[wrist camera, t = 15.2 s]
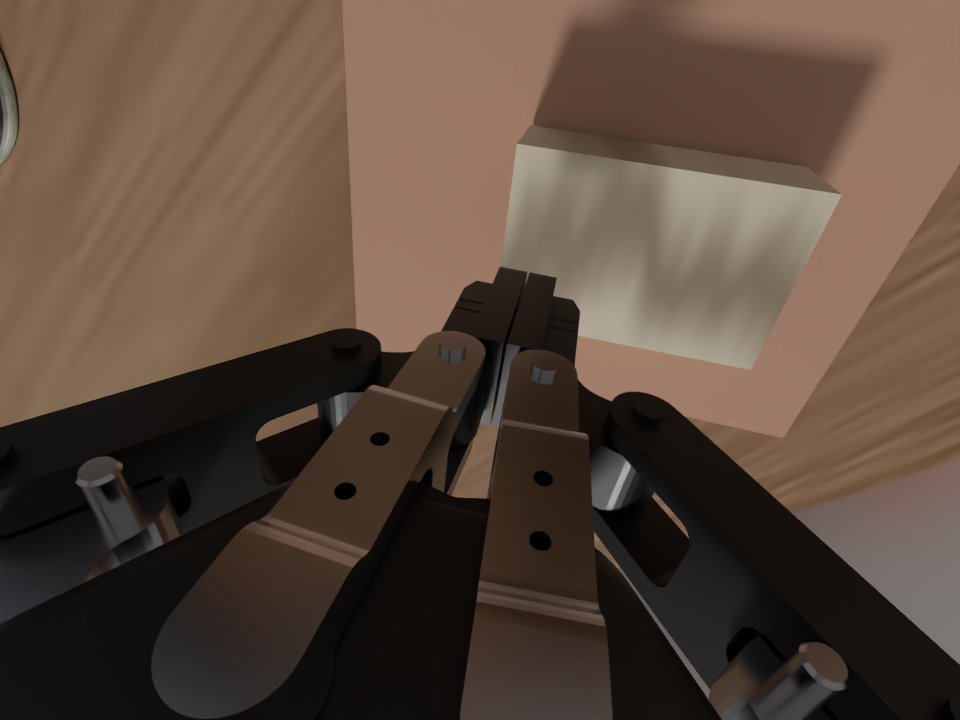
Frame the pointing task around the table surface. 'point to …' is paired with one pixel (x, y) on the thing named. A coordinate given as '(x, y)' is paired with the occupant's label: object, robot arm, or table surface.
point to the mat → (651, 119)
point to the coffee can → (7, 113)
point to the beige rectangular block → (664, 239)
